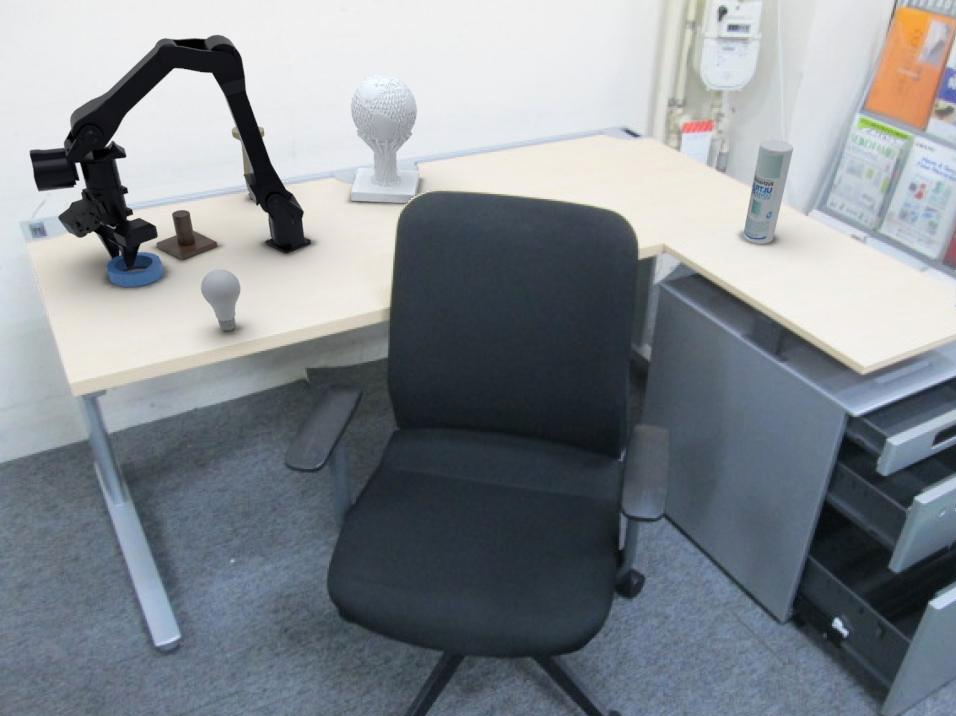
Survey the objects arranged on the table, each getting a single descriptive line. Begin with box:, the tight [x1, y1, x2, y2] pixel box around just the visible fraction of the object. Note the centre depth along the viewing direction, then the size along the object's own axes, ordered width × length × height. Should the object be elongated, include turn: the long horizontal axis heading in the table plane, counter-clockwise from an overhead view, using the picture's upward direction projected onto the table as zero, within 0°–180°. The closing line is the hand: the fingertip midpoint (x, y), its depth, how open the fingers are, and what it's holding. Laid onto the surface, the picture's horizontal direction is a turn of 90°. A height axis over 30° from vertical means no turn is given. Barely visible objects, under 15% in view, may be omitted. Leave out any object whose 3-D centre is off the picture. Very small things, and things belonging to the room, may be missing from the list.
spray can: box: [743, 139, 794, 245], centre depth 187 cm, size 6×6×20 cm
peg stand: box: [155, 209, 218, 261], centre depth 175 cm, size 8×8×7 cm
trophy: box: [350, 74, 420, 204], centre depth 197 cm, size 14×14×25 cm
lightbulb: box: [200, 269, 242, 332], centre depth 150 cm, size 6×6×11 cm
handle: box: [231, 126, 265, 200], centre depth 193 cm, size 5×6×15 cm
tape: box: [105, 251, 164, 288], centre depth 167 cm, size 9×9×2 cm
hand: (123, 263), depth 169 cm, fingers open, 4 cm apart
